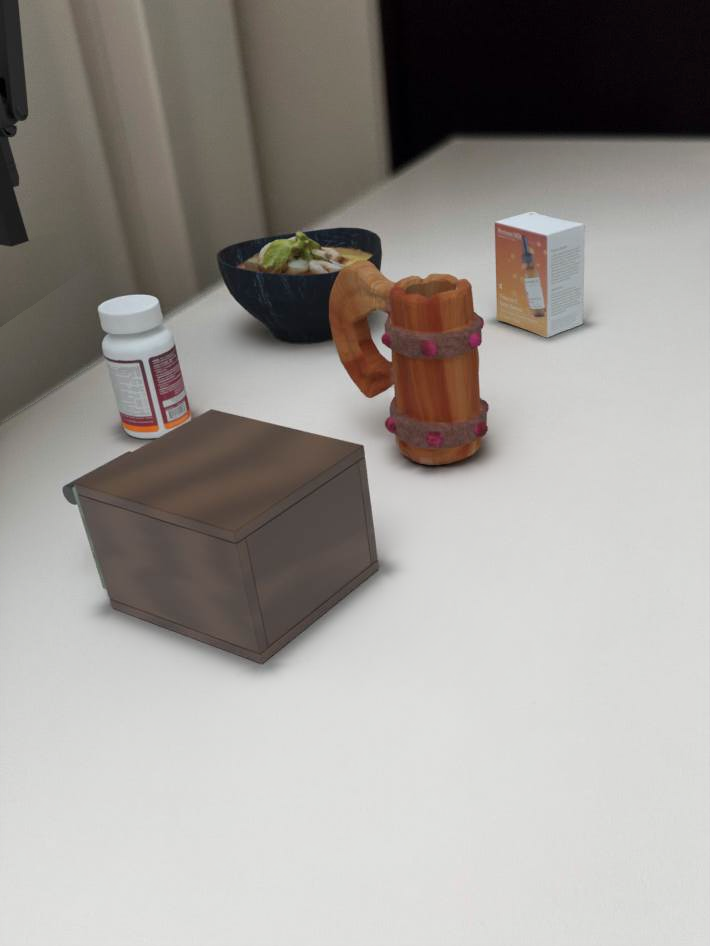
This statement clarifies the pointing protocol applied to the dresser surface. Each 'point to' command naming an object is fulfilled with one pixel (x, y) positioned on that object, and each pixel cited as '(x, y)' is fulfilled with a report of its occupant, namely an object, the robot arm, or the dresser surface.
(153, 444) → the cabinet
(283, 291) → the bowl
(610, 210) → the dresser surface
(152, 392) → the pill bottle
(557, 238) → the small box
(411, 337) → the mug
